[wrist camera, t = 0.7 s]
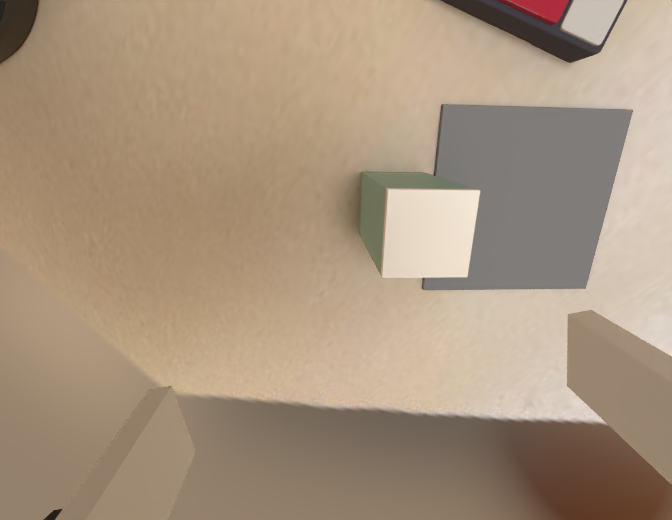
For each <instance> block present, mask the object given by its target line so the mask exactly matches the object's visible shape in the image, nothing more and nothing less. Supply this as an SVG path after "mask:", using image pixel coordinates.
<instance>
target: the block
mask: <svg viewBox="0 0 672 520" xmlns="http://www.w3.org/2000/svg"><path fill="white" fill-rule="evenodd" d="M479 196H480V190H477V189H474V188H471V187H468V186H465V185H462V184H459V183H455V182H452V181H449V180H446V179H443V178H440V177H436V176H433V175H430V174H427V173H416V172H362V181H361V205H360V228H359V234H360V236H361V238H362V240H363V242H364V243H365V245H366V247H367V249H368V251H369V253H370V255H371V257H372V259H373V261H374V263H375V265H376V267H377V269H378V271H379V273H380V275H381V276H382V278H443V277H468V270H469V263H470V257H471V250H472V243H473V236H474V230H475V223H476V216H477V210H478V203H479Z"/></svg>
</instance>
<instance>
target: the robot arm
mask: <svg viewBox="0 0 672 520" xmlns="http://www.w3.org/2000/svg"><path fill="white" fill-rule="evenodd" d="M36 8H37V0H0V62H1V61H3V60H4V59H6V58H7V57H9V56H10V55H11V54H12V53H13V52H14V51H16V50H17V48H18V47H19V46H20V45H21V44H22V42H23V41H24V39H25V38H26V36H27V34H28V32H29V30H30V28H31V26H32V23H33V20H34V17H35V13H36ZM567 386H568V387H569V388H570V389H571V390H572V391H573V392H574V393H575V394H576V395H577V396H578V397H579V398H581V399H582V400H583V401H584V402H585V403H586V404H587V405H588V406H589V407H590V408H591V409H592V410H593V411H594V412H595V413H596V414H598V415H599V416H600V417H601V418H602V419H603V420H604V421H605V422H606V423H607V424H608V425H609V426H610V427H611V428H612V429H613V430H614V431H616V432H617V433H618V434H619V435H620V436H621V437H622V438H623V439H624V440H625V441H626V442H627V443H628V444H629V445H630V446H631V447H632V448H634V449H635V450H636V451H637V452H638V453H639V454H640V455H641V456H642V457H643V458H644V459H645V460H646V461H648V463H649V464H650V465H652V466H653V467H654V468H655V469H656V470H657V471H658V472H659V473H660V474H661V475H662V476H663V477H664V478H665V479H666V480H667V481H668V482H670V483H671V484H672V357H671V356H670V355H668V354H666V353H664V352H663V351H661V350H659V349H658V348H656V347H654V346H652V345H651V344H649V343H647V342H645V341H644V340H642V339H640V338H639V337H637V336H635V335H633V334H632V333H630V332H628V331H626V330H625V329H623V328H621V327H620V326H618V325H616V324H614V323H613V322H611V321H609V320H608V319H606V318H604V317H602V316H601V315H599V314H597V313H595V312H594V311H592V310H589V311H583V312H578V313H572V314H568V350H567ZM195 453H196V451H195V449H194V446H193V443H192V440H191V438H190V435H189V432H188V429H187V427H186V424H185V421H184V418H183V416H182V413H181V410H180V407H179V405H178V402H177V400H176V396H175V394H174V391H173V388H172V386H168V387H163V388H158V389H151V390H149V391H148V392H147V393H146V395H145V396H144V397H143V399H142V400H141V401H140V403H139V404H138V406H137V407H136V408H135V410H134V411H133V413H132V414H131V415H130V417H129V418H128V419H127V421H126V422H125V424H124V425H123V426H122V428H121V429H120V431H119V432H118V433H117V435H116V436H115V438H114V439H113V440H112V442H111V443H110V445H109V446H108V447H107V449H106V450H105V451H104V453H103V454H102V455H101V457H100V458H99V460H98V461H97V462H96V464H95V465H94V467H93V468H92V469H91V471H90V472H89V473H88V475H87V476H86V478H85V479H84V480H83V482H82V483H81V484H80V486H79V487H78V489H77V490H76V492H75V493H74V494H73V496H72V497H71V498H70V500H69V501H68V502H67V504H66V505H65V507H64V508H63V509H59V510H54V511H53V512H52V513H50V514H49V515H48V516H47V517H46V518H45V519H44V520H168V518H169V515H170V513H171V510H172V508H173V506H174V503H175V501H176V498H177V496H178V494H179V491H180V489H181V486H182V484H183V482H184V479H185V477H186V474H187V472H188V470H189V467H190V465H191V462H192V460H193V458H194V455H195Z"/></svg>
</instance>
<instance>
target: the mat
mask: <svg viewBox="0 0 672 520" xmlns="http://www.w3.org/2000/svg"><path fill="white" fill-rule="evenodd" d="M632 112H633V110H622V109H588V108H553V107H518V106H484V105H449V104H443V105H442V107H441V116H440V126H439V135H438V145H437V154H436V163H435V173H434V176H436V177H440V178H443V179H446V180H449V181H452V182H455V183H459V184H462V185H465V186H468V187H471V188H474V189H477V190H480V196H479V203H478V210H477V216H476V223H475V230H474V236H473V243H472V250H471V257H470V263H469V270H468V277H443V278H423V286H422V289H423V290H485V289H586V285H587V281H588V278H589V274H590V270H591V266H592V263H593V259H594V255H595V251H596V247H597V244H598V240H599V236H600V232H601V229H602V225H603V221H604V217H605V214H606V210H607V206H608V202H609V199H610V195H611V191H612V187H613V184H614V180H615V176H616V172H617V169H618V165H619V161H620V157H621V154H622V150H623V146H624V142H625V138H626V135H627V131H628V127H629V123H630V120H631V116H632Z"/></svg>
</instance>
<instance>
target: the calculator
mask: <svg viewBox="0 0 672 520" xmlns="http://www.w3.org/2000/svg"><path fill="white" fill-rule="evenodd" d="M441 1H443V2H445V3H447V4H449V5H451V6H453V7H455V8H458V9H460V10H462V11H464V12H466V13H468V14H470V15H472V16H474V17H476V18H478V19H481V20H483V21H485V22H487V23H489V24H492V25H494V26H496V27H498V28H500V29H503V30H505V31H507V32H509V33H511V34H513V35H516V36H518V37H520V38H522V39H524V40H527V41H529V42H531V43H532V44H533V45H534V46H536V47H538V48H540V49H542V50H544V51H546V52H548V53H550V54H552V55H554V56H556V57H558V58H561V59H563V60H565V61H567V62H569V63H571V62H574V61H577V60H580V59H583V58H586V57H589V56H592V55H595V54H598V53H599V52H600V51H601V50H602V48H603V46H604V44H605V42H606V40H607V38H608V36H609V34H610V33H611V31H612V29H613V27H614V25H615V23H616V21H617V19H618V17H619V15H620V13H621V11H622V10H623V8H624V6H625V4H626V2H627V0H441Z"/></svg>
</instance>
